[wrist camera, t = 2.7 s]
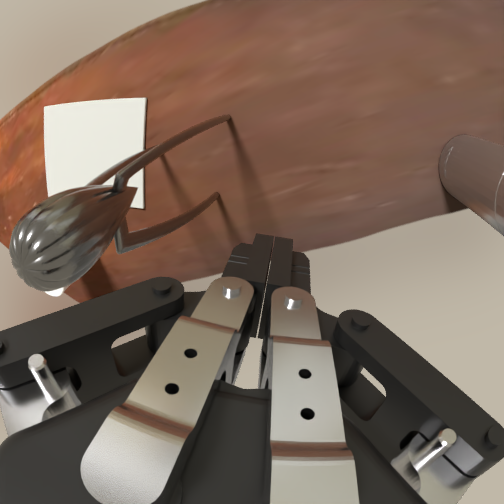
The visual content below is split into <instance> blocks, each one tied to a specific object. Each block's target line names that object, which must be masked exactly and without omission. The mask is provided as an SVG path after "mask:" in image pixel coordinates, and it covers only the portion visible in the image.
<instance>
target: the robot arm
mask: <svg viewBox="0 0 504 504" xmlns="http://www.w3.org/2000/svg"><path fill="white" fill-rule="evenodd" d="M439 174H440V179H441V182H442V184H443V186H444V188H445V189H446V191H447V192H448V193H450V194H451V195H452V196H453V197H455V198H456V199H457V200H459V201H460V202H461V203H463V204H464V205H465V206H467V207H468V208H469V209H471V210H472V211H473V212H475V213H476V214H477V215H478V216H480V217H481V218H482V219H483V220H485V221H486V222H487V223H488V224H490V225H491V226H492V227H493V228H494V229H496V230H497V231H498V232H499V233H501V234H502V235H503V236H504V146H503V145H500V144H497V143H494V142H490V141H487V140H484V139H481V138H477V137H474V136H470V135H459V136H456V137H454V138H453V139H451V140H450V141H449V142H448V143H447V144H446V145H445V147H444V149H443V151H442V153H441V156H440V161H439ZM273 239H274V236H269V235H263V234H256V236H255V239H254V242H253V245H251V244H245V243H241V244H239V245H238V246H236V247H235V248H234V249H233V251H232V254H231V256H230V258H229V261H228V263H227V265H226V267H225V270H224V272H223V274H222V277H221V278H218V279H216V280H214V281H213V282H212V283H211V284H210V286H209V287H208V289H207V290H206V291H201V292H184V287H183V285H182V284H181V282H179V281H178V280H176V279H173V278H169V277H156V278H152V279H149V280H146V281H143V282H140V283H137V284H135V285H132V286H129V287H126V288H123V289H120V290H117V291H114V292H111V293H108V294H106V295H103V296H100V297H97V298H94V299H91V300H88V301H85V302H83V303H80V304H77V305H74V306H71V307H68V308H65V309H63V310H60V311H57V312H54V313H51V314H48V315H45V316H42V317H40V318H37V319H34V320H31V321H28V322H26V323H23V324H20V325H17V326H14V327H11V328H9V329H6V330H3V331H0V408H1V412H2V416H3V420H4V423H5V427H6V430H7V434H8V438H7V439H6V440H5V441H3V443H2V444H1V445H0V504H457V503H458V501H459V500H460V499H461V498H462V496H463V495H464V493H465V492H466V491H467V489H468V488H469V486H470V485H471V484H472V482H473V481H474V480H475V479H476V478H477V477H479V476H480V475H482V474H483V473H484V472H485V471H487V470H488V469H490V468H491V467H492V466H494V465H495V464H496V463H497V462H499V461H500V460H501V459H502V458H503V457H504V428H503V427H502V426H501V425H500V424H499V423H498V422H497V421H495V420H494V419H493V418H492V417H491V416H490V415H489V414H488V413H486V412H485V411H484V410H483V409H482V408H481V407H480V406H479V405H477V404H476V403H475V402H474V401H473V400H471V398H470V397H468V396H467V395H466V394H465V393H464V392H463V391H461V390H460V389H459V388H458V387H457V386H456V385H455V384H453V383H452V382H451V381H450V380H449V379H448V378H446V377H445V376H444V375H443V374H442V373H441V372H439V371H438V370H437V369H436V368H435V367H433V366H432V365H431V364H430V363H428V361H426V360H425V359H424V358H423V357H422V356H420V355H419V354H418V353H417V352H416V351H414V350H413V349H412V348H411V347H410V346H408V345H407V344H406V343H405V342H404V341H402V340H401V339H400V338H399V337H397V336H396V335H395V334H394V333H393V332H392V331H390V330H389V329H388V328H387V327H385V326H384V325H383V324H382V323H381V322H379V321H378V320H377V319H376V318H374V317H373V316H372V315H370V314H368V313H366V312H364V311H360V310H346V311H344V312H342V313H341V314H340V315H339V318H337V317H335V316H332V315H329V314H327V313H325V312H323V311H321V310H320V309H318V308H317V307H316V303H315V300H314V298H313V296H312V295H311V291H310V290H311V289H310V269H309V268H310V265H309V259H308V258H307V257H306V255H305V254H304V253H300V252H294V251H292V249H293V239H287V238H281V237H275V242H274V248H273V253H272V259H271V264H270V258H271V252H272V246H273ZM269 264H270V270H269ZM268 271H269V275H268ZM267 276H268V281H267ZM266 282H267V286H266ZM265 288H266V293H265ZM264 293H265V298H264ZM263 298H264V305H263V311H262V317H261V322H260V329H259V334H258V338H260V339H263V345H262V349H261V355H260V366H259V380H258V389H242V388H239V387H236V386H234V384H235V381H236V378H237V375H238V373H239V369H240V367H241V364H242V361H243V358H244V355H245V350H246V347H247V345H248V343H249V338H250V337H254V338H256V334H257V329H258V324H259V319H260V314H261V308H262V303H263ZM143 327H145V330H146V335H144V336H141V337H139V338H136V339H134V340H132V341H129V342H127V343H124V344H122V345H119V346H117V347H115V348H112V349H111V346H112V344H113V342H114V341H115V340H116V339H117V338H119V337H121V336H124V335H126V334H129V333H131V332H134V331H136V330H139V329H141V328H143ZM363 367H364V368H365V369H366V370H367V371H368V372H369V373H370V374H371V375H372V376H374V377H375V378H376V379H377V380H378V381H379V382H380V383H381V384H382V385H383V387H384V388H385V391H386V397H385V396H384V395H383V394H382V393H381V392H380V391H379V390H378V389H377V388H376V387H375V386H374V385H373V384H372V383H371V382H370V381H368V380H367V379H366V378H365V377H364V376H363V375H362V374H361V373H360V372H361V371H362V369H363Z"/></svg>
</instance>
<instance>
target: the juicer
mask: <svg viewBox="0 0 504 504" xmlns="http://www.w3.org/2000/svg"><path fill="white" fill-rule="evenodd" d="M230 118H231V116H230V115H224V116H219V117H216V118H212V119H209V120H207V121H204V122H201V123H199V124H197V125H195V126H192V127H190V128H188V129H186V130H184V131H182V132H180V133H179V134H177V135H175V136H173V137H171V138H170V139H168V140H166V141H164V142H163V143H161V144H159V145H156V146H153V147H151V148H148V149H145V150H143V151H140V152H138V153H136V154H134V155H132V156H130V157H128V158H126V159H124V160H122V161H120V162H118V163H117V164H115V165H113V166H112V167H110V168H109V169H107V170H106V171H104V172H103V173H101V174H100V175H98V176H97V177H96V178H94V179H93V180H92V181H90V182H89V183H88V184H86V185H85V186H83V187H76V188H72V189H68V190H65V191H62V192H59V193H56V194H54V195H52V196H50V197H48V198H46V199H44V200H43V201H41V202H40V203H38V204H37V205H36V206H34V207H33V208H32V209H30V210H29V211H28V212H26V213H25V214H24V215H23V216H22V217H21V218H20V219H19V221H18V222H17V224H16V225H15V227H14V229H13V232H12V235H11V242H10V248H9V251H10V256H11V258H12V265H13V267H14V268H15V269H16V270H17V274H18V276H19V277H20V278H21V279H23V280H24V282H25V283H26V284H27V285H28V286H30V287H33V288H35V289H37V290H40V291H44V292H48V291H54V290H57V289H60V288H63V287H66V286H68V285H70V284H71V283H73V282H75V281H76V280H77V279H79V278H80V277H81V276H83V275H84V274H85V273H86V272H87V271H88V270H89V269H90V268H91V267H92V266H93V265H94V264H95V263H96V262H97V261H98V259H99V258H100V257H101V256H102V254H103V253H104V252H105V250H106V249H107V247H108V246H109V244H110V243H111V241H112V239H113V238H114V239H115V245H116V251H117V253H118V254H122V253H125V252H128V251H130V250H133V249H136V248H138V247H141V246H143V245H146V244H148V243H150V242H153V241H155V240H157V239H159V238H161V237H163V236H165V235H167V234H169V233H171V232H173V231H175V230H176V229H178V228H180V227H181V226H183V225H185V224H186V223H188V222H189V221H191V220H192V219H194V218H195V217H196V216H198V215H199V214H200V213H202V212H203V211H204V210H205V209H206V208H208V207H209V206H210V205H211V204H212V203H213V202H214V201H215V200H216V199H217V198H218V197H219V193H218V192H215V193H214V194H213V195H211V196H210V197H209V198H207V199H206V200H205V201H203V202H202V203H200V204H199V205H197V206H196V207H194V208H192V209H190V210H189V211H187V212H185V213H183V214H181V215H179V216H177V217H175V218H172V219H170V220H168V221H165V222H163V223H160V224H157V225H154V226H151V227H148V228H145V229H141V230H138V231H134V232H128V227H127V221H126V214H127V212H128V210H129V208H130V206H131V204H132V202H133V199H134V197H135V195H136V192H137V190H138V187H131V186H127V184H128V181H129V178H131V177H132V176H133V175H134V174H136V173H137V172H138V171H140V170H141V169H142V168H144V167H145V166H147V165H148V164H149V163H151V162H152V161H154V160H155V159H157V158H158V157H160V156H161V155H163V154H164V153H166V152H167V151H169V150H171V149H172V148H174V147H176V146H177V145H179V144H181V143H183V142H184V141H186V140H188V139H190V138H192V137H194V136H195V135H197V134H199V133H201V132H203V131H205V130H207V129H209V128H212V127H214V126H216V125H218V124H220V123H223V122H225V121H228V120H230ZM114 175H115V179H114V183H113V185H103V184H104V183H105V182H106V181H108V180H109V179H110V178H112V177H113V176H114Z"/></svg>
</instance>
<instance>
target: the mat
mask: <svg viewBox="0 0 504 504" xmlns="http://www.w3.org/2000/svg"><path fill="white" fill-rule="evenodd" d="M146 103H147V98H126V99H108V100H95V101H84V102H75V103H66V104H59V105H52V106H45V107H44V145H45V164H46V177H47V188H48V197H50V196H52V195H54V194H56V193H59V192H62V191H65V190H68V189H72V188H76V187H83V186H85V185H86V184H88V183H89V182H90V181H92V180H93V179H94V178H96V177H97V176H98V175H100V174H101V173H103V172H104V171H106V170H107V169H109V168H110V167H112V166H113V165H115V164H117V163H118V162H120V161H122V160H124V159H126V158H128V157H130V156H132V155H134V154H136V153H138V152H140V151H143V150H144V145H145V120H146ZM114 179H115V175H114V176H113V177H112V178H110V179H109V180H108V181H106V182H105V183H104V184H103V185H113V183H114ZM127 186H131V187H138V190H137V192H136V195H135V197H134V199H133V202H132V204H131V206H130V207H135V208H142V209H143V208H144V168H142V169H141V170H140V171H138V172H137V173H136V174H134V175H133V176H132V177H131V178H129V181H128V184H127Z"/></svg>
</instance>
